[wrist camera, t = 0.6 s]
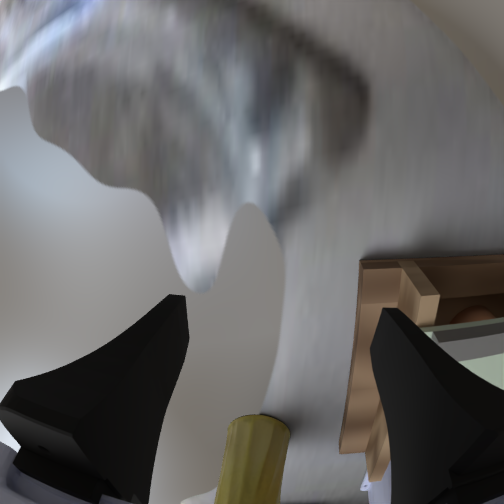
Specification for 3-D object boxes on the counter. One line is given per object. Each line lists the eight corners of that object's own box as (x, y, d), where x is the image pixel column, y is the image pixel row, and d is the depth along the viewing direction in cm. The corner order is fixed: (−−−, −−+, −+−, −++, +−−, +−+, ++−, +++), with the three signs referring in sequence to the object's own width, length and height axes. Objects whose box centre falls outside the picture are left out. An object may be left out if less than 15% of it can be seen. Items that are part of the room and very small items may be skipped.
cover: (536, 393, 17) (544, 405, 16) (389, 427, 19) (393, 444, 18) (575, 303, 14) (586, 313, 13) (415, 328, 16) (424, 344, 15)
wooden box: (501, 414, 25) (516, 446, 20) (338, 442, 28) (341, 484, 23) (561, 251, 18) (597, 275, 13) (359, 260, 21) (376, 298, 16)
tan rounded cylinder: (483, 352, 22) (504, 384, 18) (436, 359, 23) (454, 396, 18) (498, 302, 20) (525, 332, 16) (449, 308, 21) (473, 342, 17)
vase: (280, 453, 29) (266, 572, 16) (223, 441, 30) (193, 559, 16) (298, 420, 27) (289, 560, 14) (233, 407, 27) (199, 546, 14)
